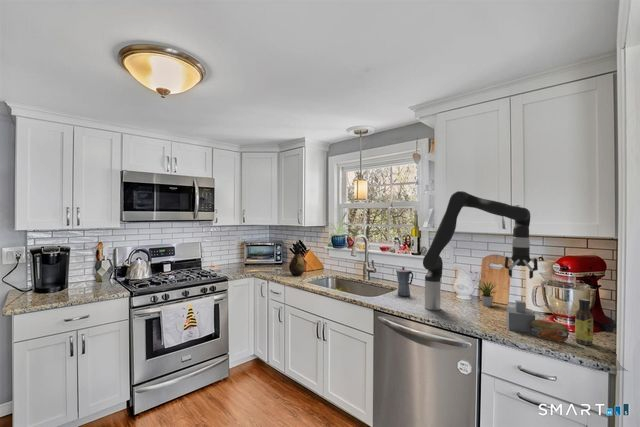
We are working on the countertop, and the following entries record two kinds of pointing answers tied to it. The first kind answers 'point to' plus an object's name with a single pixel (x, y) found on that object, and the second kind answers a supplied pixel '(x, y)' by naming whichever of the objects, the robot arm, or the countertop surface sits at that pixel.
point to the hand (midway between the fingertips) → (520, 277)
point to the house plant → (487, 294)
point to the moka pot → (404, 282)
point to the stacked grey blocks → (519, 317)
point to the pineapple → (297, 262)
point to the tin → (549, 330)
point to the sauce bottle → (584, 323)
